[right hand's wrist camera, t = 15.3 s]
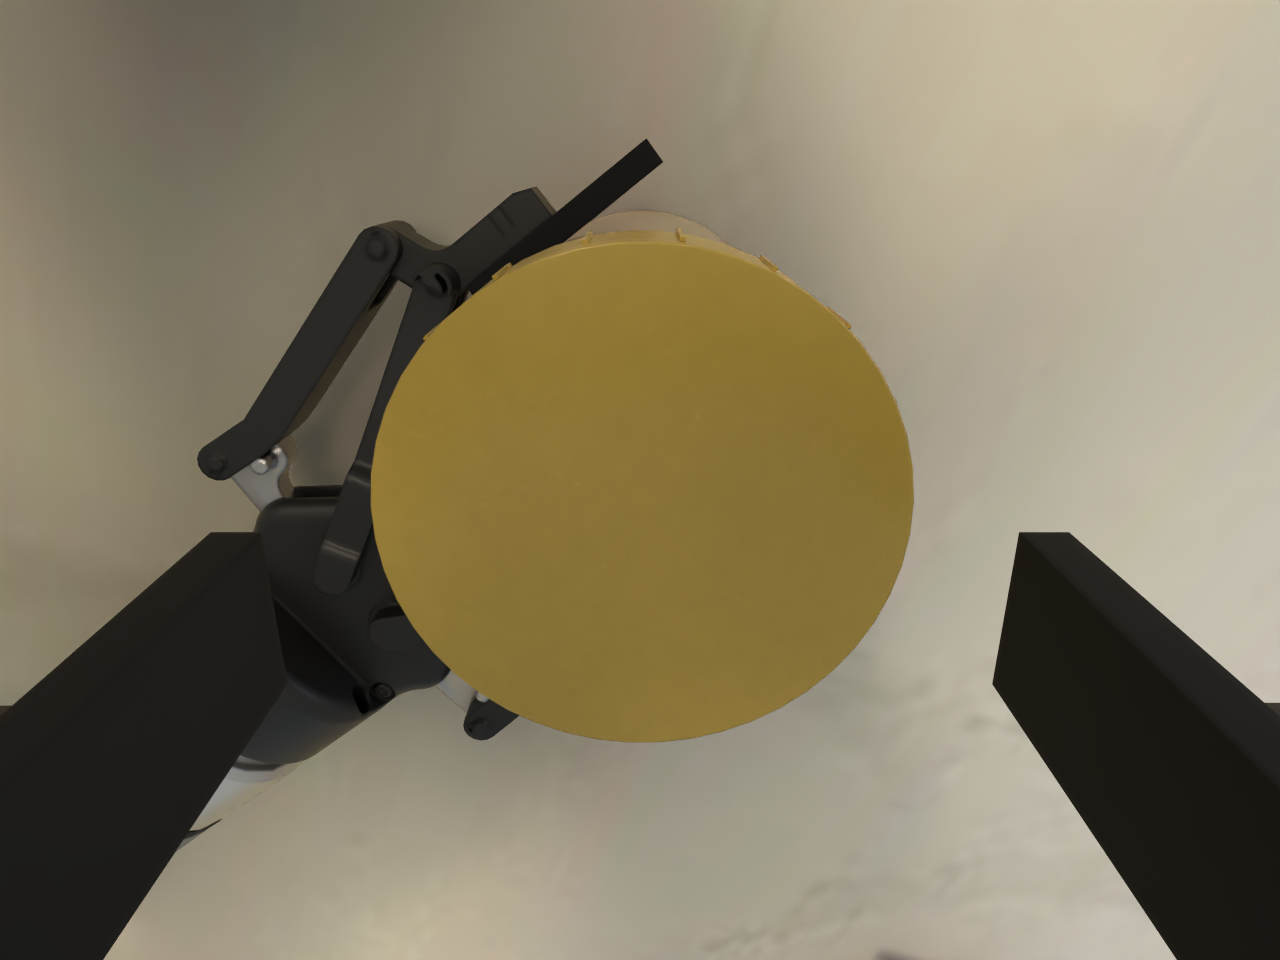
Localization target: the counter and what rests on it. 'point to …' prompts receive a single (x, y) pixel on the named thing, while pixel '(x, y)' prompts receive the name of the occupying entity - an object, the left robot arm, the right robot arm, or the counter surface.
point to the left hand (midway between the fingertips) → (756, 295)
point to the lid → (642, 488)
